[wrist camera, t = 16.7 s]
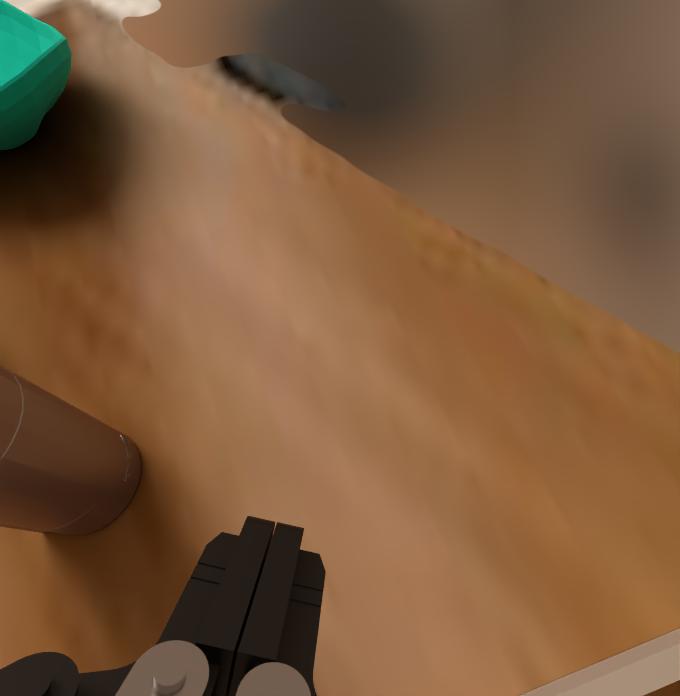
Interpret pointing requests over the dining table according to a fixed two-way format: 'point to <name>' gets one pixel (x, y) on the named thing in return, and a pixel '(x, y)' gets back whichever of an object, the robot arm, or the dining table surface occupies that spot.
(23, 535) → the dining table surface
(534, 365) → the dining table surface
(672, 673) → the grey u-shaped frame
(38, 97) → the table top decor
